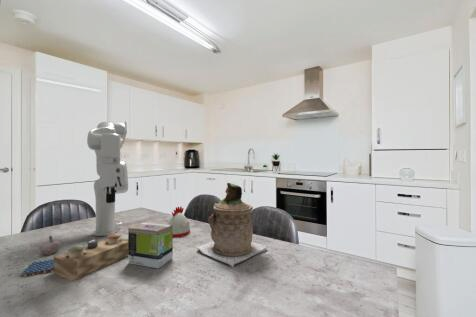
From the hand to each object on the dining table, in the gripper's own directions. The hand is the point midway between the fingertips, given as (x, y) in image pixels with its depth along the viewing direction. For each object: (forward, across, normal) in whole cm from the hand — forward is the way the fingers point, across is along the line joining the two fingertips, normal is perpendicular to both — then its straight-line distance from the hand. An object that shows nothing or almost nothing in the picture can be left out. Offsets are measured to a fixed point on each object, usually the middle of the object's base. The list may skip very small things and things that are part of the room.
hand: (110, 202), depth 98 cm
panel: (+23, -2, +8) cm, 25 cm away
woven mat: (+24, +12, +20) cm, 33 cm away
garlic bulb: (+24, +27, +10) cm, 38 cm away
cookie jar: (+23, -47, -27) cm, 59 cm away
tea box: (+23, -21, -3) cm, 32 cm away
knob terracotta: (+22, -2, 0) cm, 22 cm away
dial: (+17, 0, +8) cm, 19 cm away
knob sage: (+22, -2, +15) cm, 27 cm away
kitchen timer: (+24, -8, -35) cm, 43 cm away
